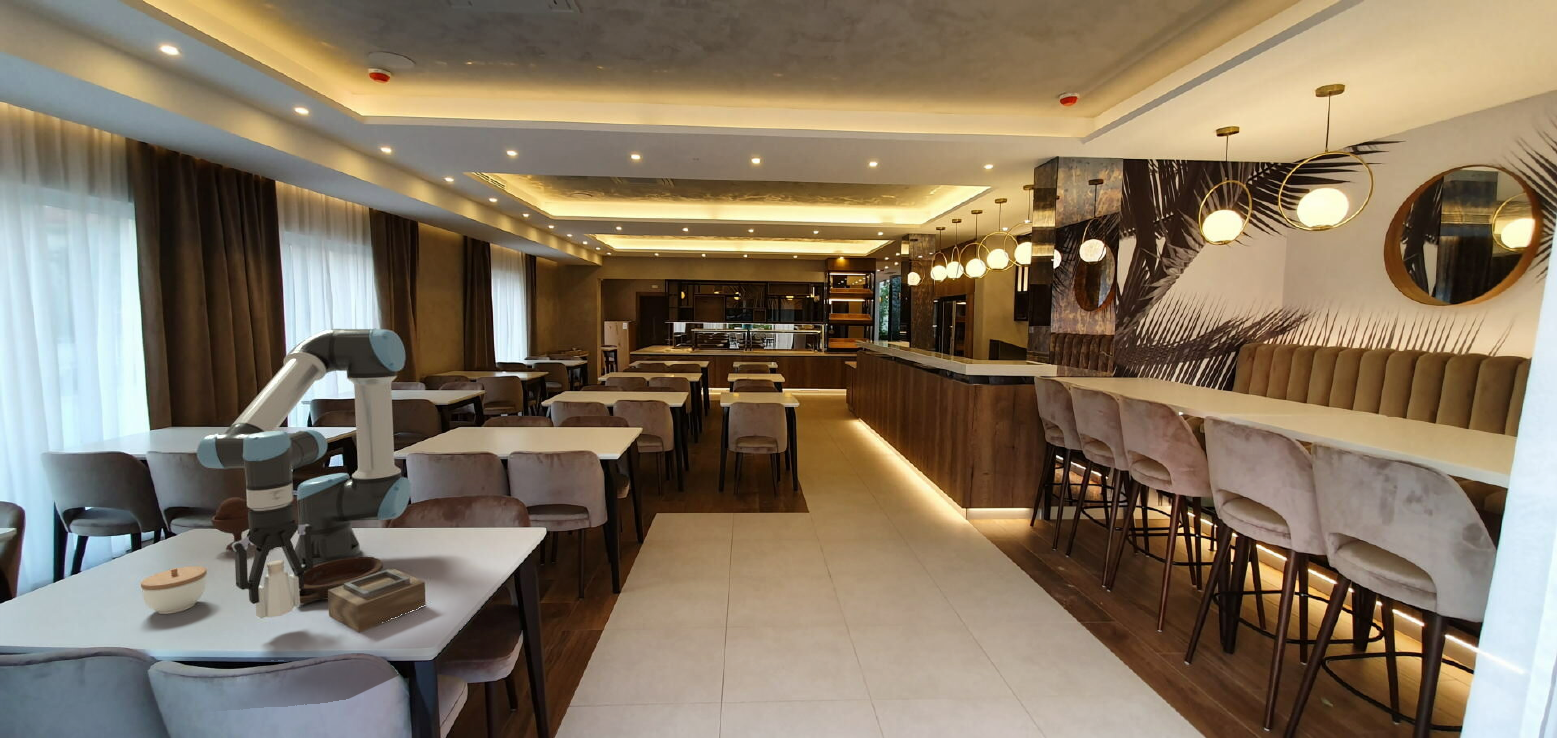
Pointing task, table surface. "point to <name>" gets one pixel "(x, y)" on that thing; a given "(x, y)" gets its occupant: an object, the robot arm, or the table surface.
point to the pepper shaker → (277, 590)
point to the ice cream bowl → (232, 518)
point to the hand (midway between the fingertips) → (278, 609)
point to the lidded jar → (174, 589)
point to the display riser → (375, 599)
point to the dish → (336, 576)
